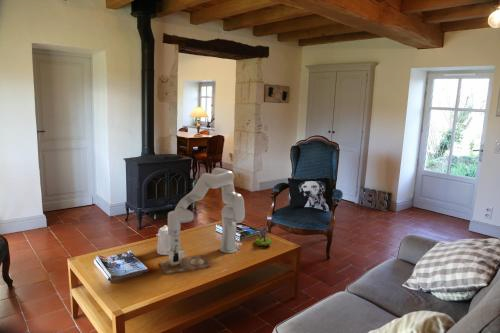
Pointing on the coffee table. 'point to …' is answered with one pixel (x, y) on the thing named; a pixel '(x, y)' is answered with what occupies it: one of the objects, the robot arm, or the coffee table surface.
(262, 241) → the animal figurine
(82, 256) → the coffee table surface
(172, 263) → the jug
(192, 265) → the board
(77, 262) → the coffee table surface
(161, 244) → the coffeepot
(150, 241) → the coffee table surface
